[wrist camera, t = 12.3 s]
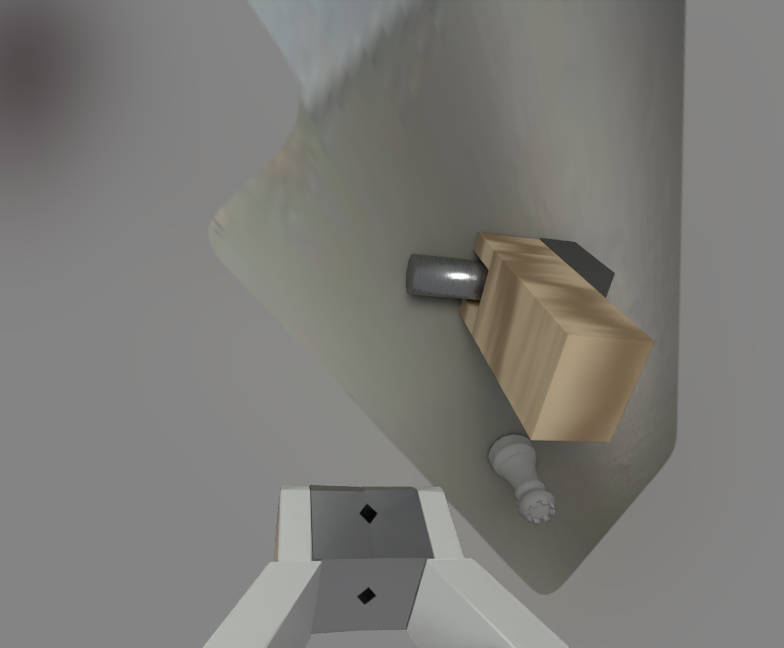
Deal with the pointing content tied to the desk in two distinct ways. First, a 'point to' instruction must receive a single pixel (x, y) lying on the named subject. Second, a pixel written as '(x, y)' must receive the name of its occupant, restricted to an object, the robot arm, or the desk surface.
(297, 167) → the desk surface
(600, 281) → the black block
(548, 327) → the tall wooden block
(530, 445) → the rook chess piece
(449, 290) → the grey metal rod
